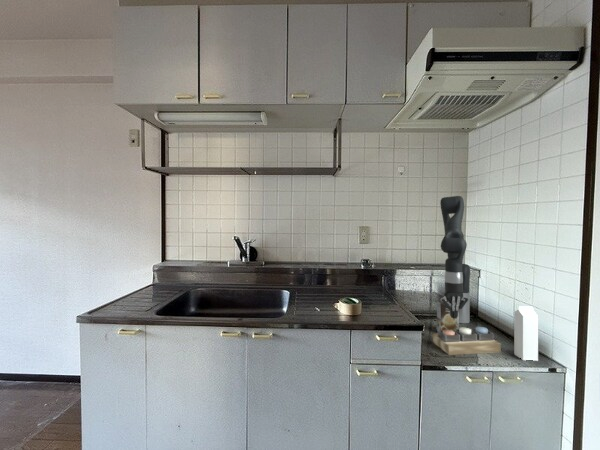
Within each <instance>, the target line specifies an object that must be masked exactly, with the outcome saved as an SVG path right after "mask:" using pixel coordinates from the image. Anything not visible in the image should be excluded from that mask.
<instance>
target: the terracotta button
mask: <svg viewBox="0 0 600 450" xmlns="http://www.w3.org/2000/svg"><path fill="white" fill-rule="evenodd" d="M443 334H445V335H455V332H453V331H451V330H443Z"/></svg>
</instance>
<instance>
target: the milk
mask: <svg viewBox="0 0 600 450" xmlns="http://www.w3.org/2000/svg"><path fill="white" fill-rule="evenodd" d="M513 314H514V315H513V316H514V317H513V318H514V321H513V323H514V324H513V326H514V329H513V332H514V341H513V343H514V345H513V346H514V347H513V349H514V351H513V352H514V353H513V354H514V356H515V357H518V358H519V359H520V358H521V359H520V360H521V361H526V360H533V361H534V362H535V361H536V362H539V316H538V314H537V313H536V311H535V310H534V306H530V305H529V306H527V305H526V306H525V305H523V306H522V305H519V306H518V309H517V310H514V312H513ZM533 361H532V362H533Z"/></svg>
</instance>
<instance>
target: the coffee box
mask: <svg viewBox="0 0 600 450" xmlns="http://www.w3.org/2000/svg"><path fill="white" fill-rule="evenodd" d="M446 302H447V303H448V300H447V301H446ZM448 305H449V303H448ZM459 328H460V323H459V310H458V317H457V319H453V318H452V317H451V316H450V310H449V309H448V308H446V307H445V306H444V304H443V303H442V302H441V301H440V299H438V300H436V331H437V332H438V330H453V331H454V330H457V329H459Z"/></svg>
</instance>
